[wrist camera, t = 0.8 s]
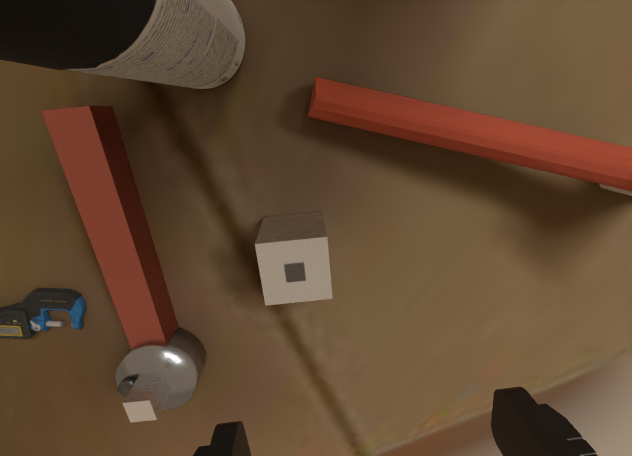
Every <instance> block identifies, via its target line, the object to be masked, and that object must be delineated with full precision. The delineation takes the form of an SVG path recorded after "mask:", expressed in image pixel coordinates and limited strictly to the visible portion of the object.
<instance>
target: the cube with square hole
mask: <svg viewBox="0 0 632 456" xmlns="http://www.w3.org/2000/svg"><path fill="white" fill-rule="evenodd" d="M255 249H256V254H257V260H258V266H259V271H260V277H261V283H262V289H263V294H264V300H265V305H275V304H285V303H295V302H305V301H314V300H324V299H332V287H331V276H330V264H329V252H328V240H327V233H326V228H325V223H324V218H323V213H322V211H318V212H308V213H298V214H288V215H278V216H268V217H264V218H263V221H262V224H261V227H260V230H259V233H258V236H257V239H256V242H255Z"/></svg>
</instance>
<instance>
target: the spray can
mask: <svg viewBox="0 0 632 456" xmlns="http://www.w3.org/2000/svg"><path fill="white" fill-rule="evenodd" d="M245 41H246V40H245V33H244V28H243V23H242V20H241V17H240V15H239V13H238V11H237V9H236V7H235V5H234V4H233V2H232V1H231V0H0V60H6V61H11V62H17V63H23V64H29V65H35V66H40V67H45V68H51V69H57V70H66V69H67V70H73V71H79V72H85V73H93V74H100V75H106V76H113V77H120V78H127V79H134V80H140V81H148V82H154V83H161V84H167V85H175V86H181V87H189V88H195V89H209V88H214V87H217V86H219V85H221V84H223V83H225V82H226V81H227V80H229V79H230V78H231V77H232V76H233V75H234V74H235V72H236V71H237V69H238V68H239V66H240V64H241V61H242V58H243V55H244V51H245Z"/></svg>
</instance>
